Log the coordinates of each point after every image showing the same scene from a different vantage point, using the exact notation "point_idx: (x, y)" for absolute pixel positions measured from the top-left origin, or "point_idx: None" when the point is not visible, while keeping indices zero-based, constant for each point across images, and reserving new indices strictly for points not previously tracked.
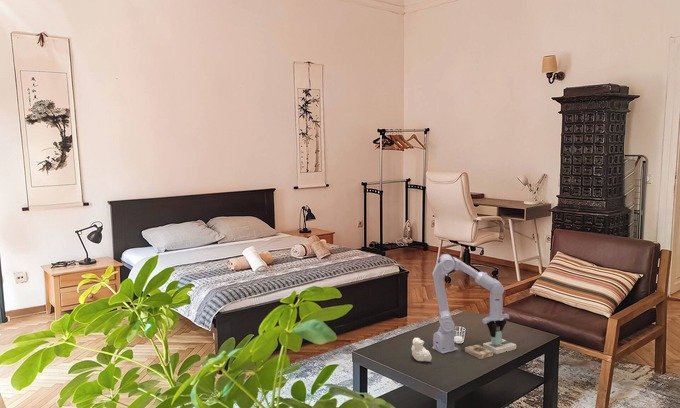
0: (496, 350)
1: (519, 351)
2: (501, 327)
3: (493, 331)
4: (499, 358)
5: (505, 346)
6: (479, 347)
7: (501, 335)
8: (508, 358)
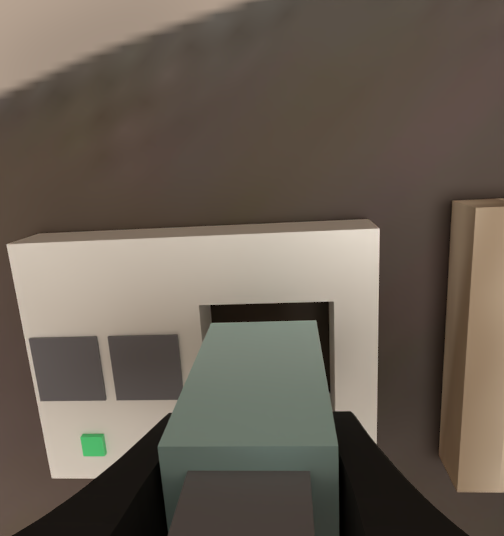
0: (376, 235)
1: (52, 152)
2: (120, 528)
3: (411, 494)
4: (447, 87)
5: (183, 266)
6: (501, 416)
7: (185, 387)
8: (341, 28)
